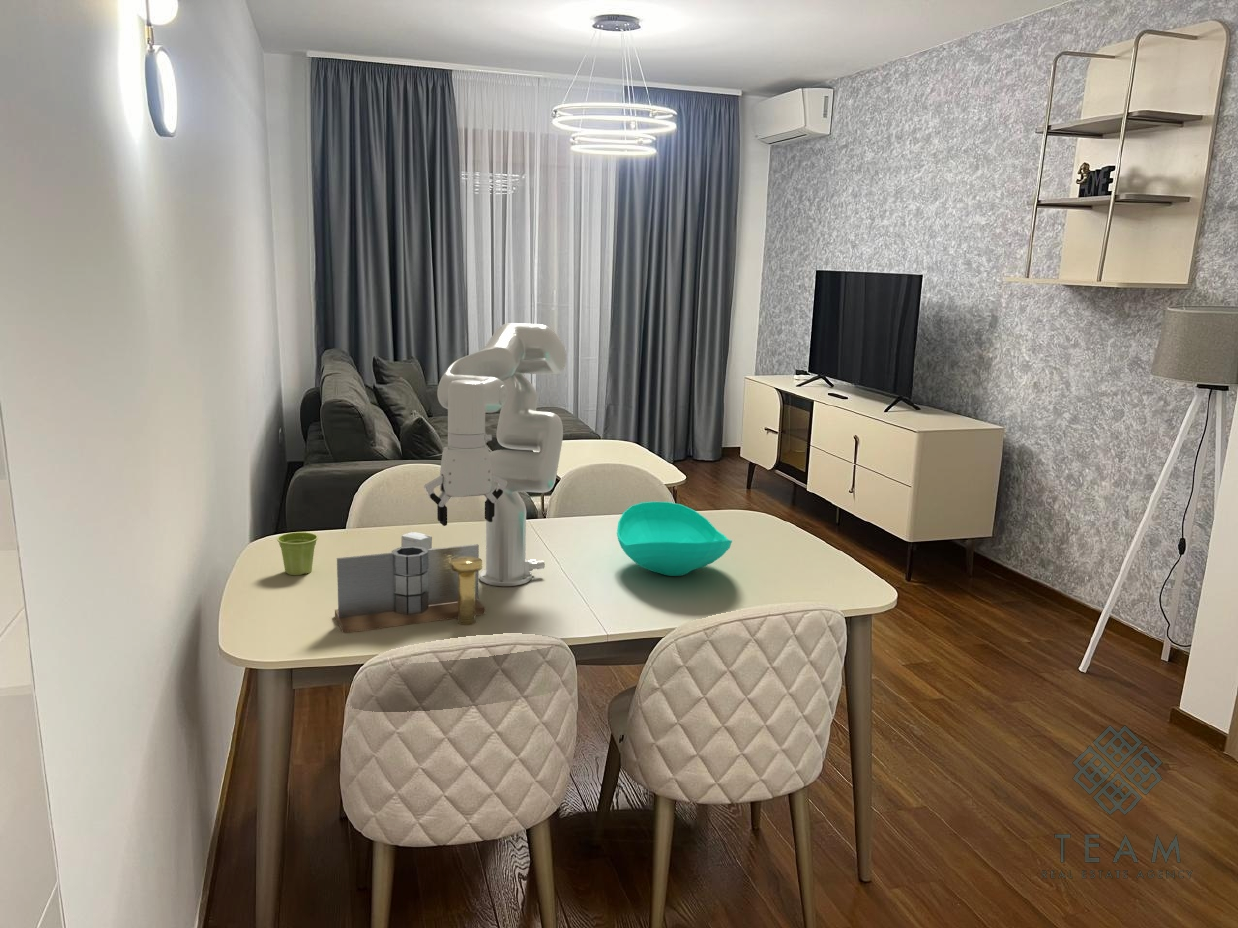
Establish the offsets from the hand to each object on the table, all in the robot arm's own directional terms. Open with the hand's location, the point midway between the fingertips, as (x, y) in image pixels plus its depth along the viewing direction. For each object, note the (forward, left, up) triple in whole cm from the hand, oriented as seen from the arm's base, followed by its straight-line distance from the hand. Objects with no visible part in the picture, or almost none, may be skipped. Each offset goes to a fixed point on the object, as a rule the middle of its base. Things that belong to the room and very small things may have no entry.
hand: (466, 522), depth 195 cm
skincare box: (+4, -27, -22) cm, 35 cm away
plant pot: (+28, -46, -22) cm, 58 cm away
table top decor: (-58, -15, -22) cm, 64 cm away
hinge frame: (+15, -8, -20) cm, 27 cm away
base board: (+10, -8, -22) cm, 25 cm away
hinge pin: (0, 0, -22) cm, 22 cm away
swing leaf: (+4, -8, -20) cm, 22 cm away
